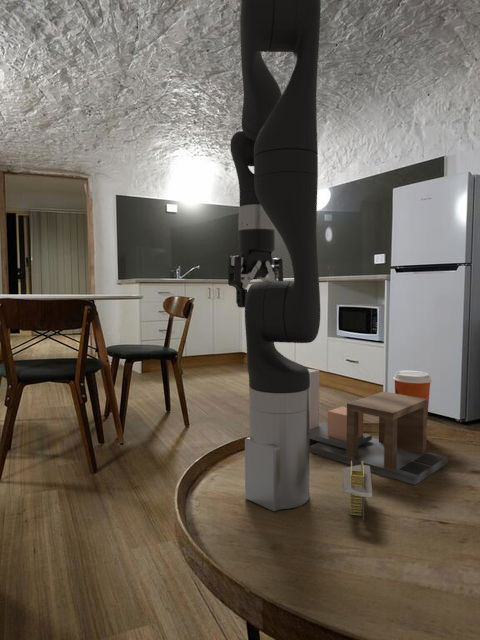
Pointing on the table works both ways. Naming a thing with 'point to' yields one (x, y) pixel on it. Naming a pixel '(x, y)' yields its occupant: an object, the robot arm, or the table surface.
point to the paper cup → (413, 384)
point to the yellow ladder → (362, 490)
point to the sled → (331, 420)
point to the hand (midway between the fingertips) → (256, 306)
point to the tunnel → (389, 438)
